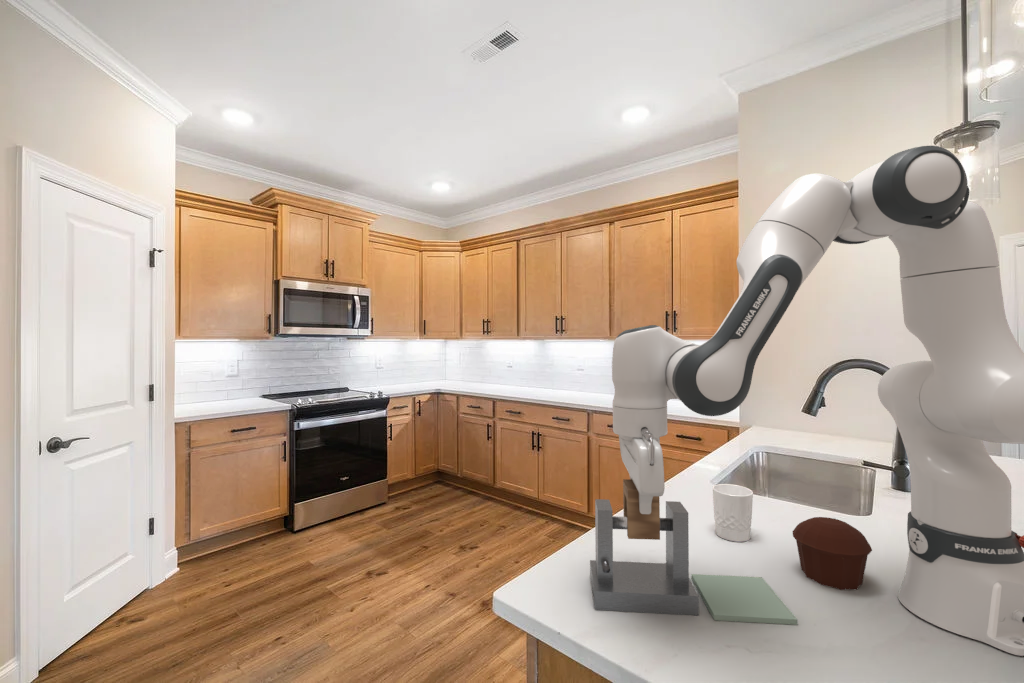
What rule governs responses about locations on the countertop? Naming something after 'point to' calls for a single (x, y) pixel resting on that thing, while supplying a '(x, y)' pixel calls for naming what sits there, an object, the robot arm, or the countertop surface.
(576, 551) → the countertop surface
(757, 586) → the mat
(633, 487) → the wooden block
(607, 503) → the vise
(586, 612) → the countertop surface
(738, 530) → the white cup
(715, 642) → the countertop surface
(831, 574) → the muffin
